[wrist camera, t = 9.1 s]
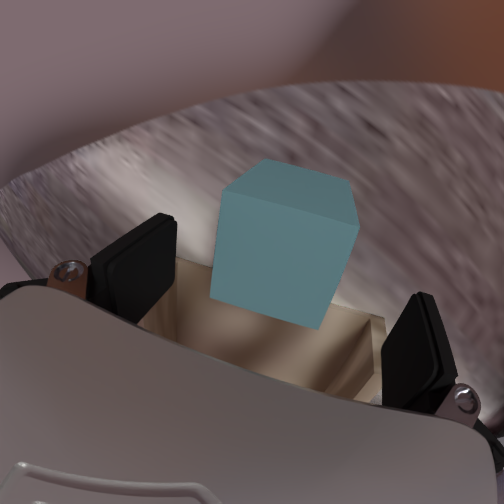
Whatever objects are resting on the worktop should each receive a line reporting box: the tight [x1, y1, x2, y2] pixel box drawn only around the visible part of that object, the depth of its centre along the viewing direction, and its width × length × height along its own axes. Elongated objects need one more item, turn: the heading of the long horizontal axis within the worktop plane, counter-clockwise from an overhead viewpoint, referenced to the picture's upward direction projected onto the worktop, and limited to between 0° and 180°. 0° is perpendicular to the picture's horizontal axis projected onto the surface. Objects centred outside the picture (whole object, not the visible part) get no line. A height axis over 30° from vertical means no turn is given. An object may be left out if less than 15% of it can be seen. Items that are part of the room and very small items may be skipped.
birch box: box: [137, 257, 387, 403], centre depth 21 cm, size 17×14×6 cm
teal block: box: [210, 159, 360, 330], centre depth 14 cm, size 5×5×7 cm
